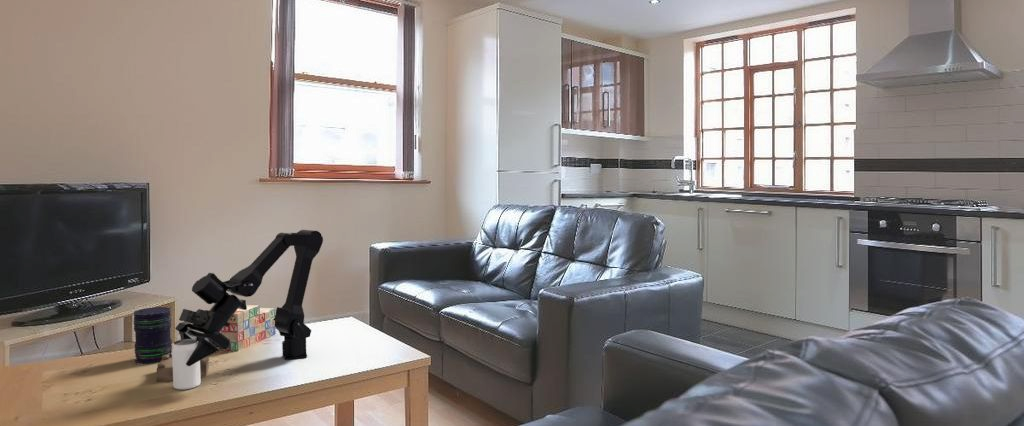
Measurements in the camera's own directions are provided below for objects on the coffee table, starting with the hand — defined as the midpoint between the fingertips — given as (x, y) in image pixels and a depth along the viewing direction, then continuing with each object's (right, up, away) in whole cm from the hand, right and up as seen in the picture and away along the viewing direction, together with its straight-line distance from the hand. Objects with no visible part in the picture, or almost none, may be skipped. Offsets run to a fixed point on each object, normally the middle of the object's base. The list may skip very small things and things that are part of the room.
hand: (181, 363), depth 164 cm
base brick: (-6, -6, +12) cm, 14 cm away
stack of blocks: (-1, -4, +45) cm, 45 cm away
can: (+1, -7, +2) cm, 7 cm away
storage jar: (-21, -5, +25) cm, 33 cm away
